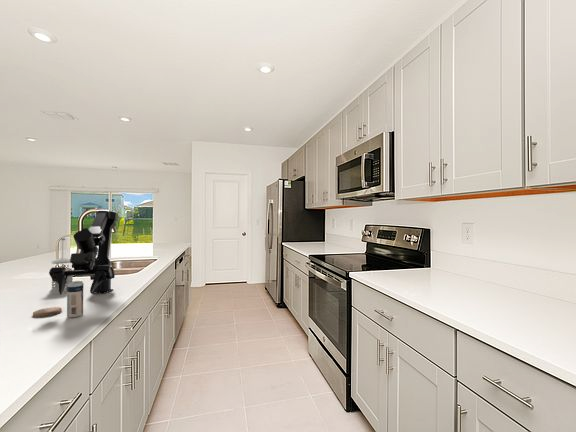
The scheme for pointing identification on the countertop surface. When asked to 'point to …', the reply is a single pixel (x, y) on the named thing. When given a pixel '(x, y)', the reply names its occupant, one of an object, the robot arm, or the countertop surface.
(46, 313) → the walnut coaster
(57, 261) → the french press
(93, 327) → the countertop surface
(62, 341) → the countertop surface
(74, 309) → the beer can
